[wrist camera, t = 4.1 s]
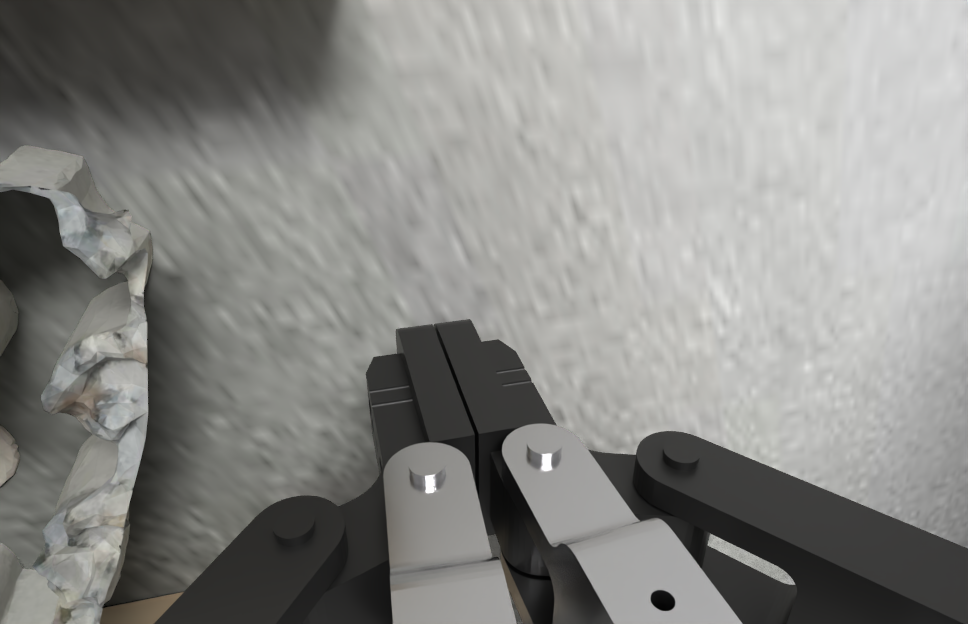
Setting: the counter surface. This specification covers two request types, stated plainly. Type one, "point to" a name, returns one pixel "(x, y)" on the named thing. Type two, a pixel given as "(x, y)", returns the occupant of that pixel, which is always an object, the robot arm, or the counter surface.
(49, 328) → the counter surface
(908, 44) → the counter surface
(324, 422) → the counter surface
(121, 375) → the egg carton
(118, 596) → the counter surface
